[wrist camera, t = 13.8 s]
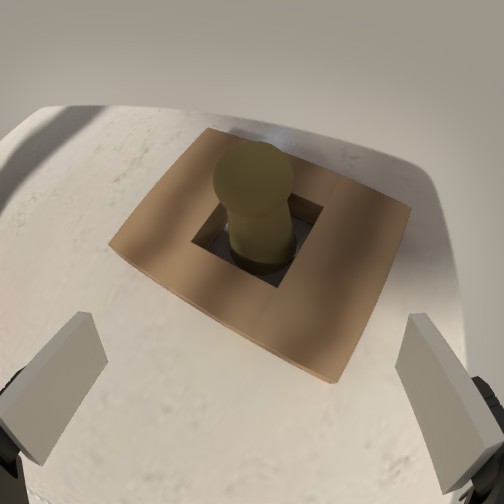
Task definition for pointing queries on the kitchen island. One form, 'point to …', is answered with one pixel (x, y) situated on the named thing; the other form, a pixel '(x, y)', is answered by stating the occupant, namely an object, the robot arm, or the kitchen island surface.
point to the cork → (257, 205)
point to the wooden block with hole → (300, 272)
